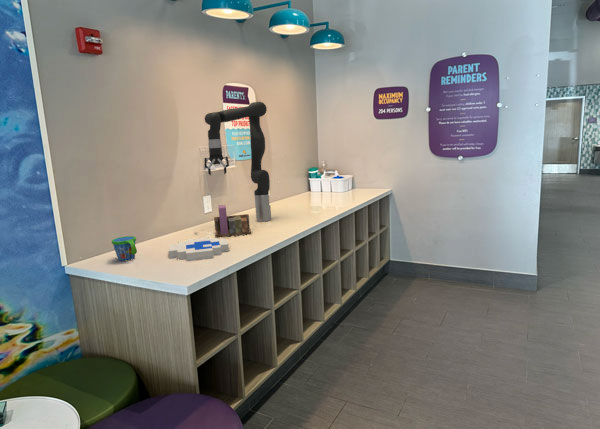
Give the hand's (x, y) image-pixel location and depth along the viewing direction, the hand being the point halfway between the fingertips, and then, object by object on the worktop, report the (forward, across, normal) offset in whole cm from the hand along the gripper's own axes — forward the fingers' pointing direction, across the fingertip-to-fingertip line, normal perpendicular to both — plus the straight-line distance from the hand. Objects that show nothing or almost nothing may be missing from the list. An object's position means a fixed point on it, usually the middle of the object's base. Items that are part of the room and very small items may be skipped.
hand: (217, 174), depth 251 cm
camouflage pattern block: (+33, -6, +17) cm, 38 cm away
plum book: (+32, -1, +18) cm, 36 cm away
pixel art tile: (+34, +13, +49) cm, 61 cm away
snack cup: (+33, +47, +50) cm, 76 cm away
